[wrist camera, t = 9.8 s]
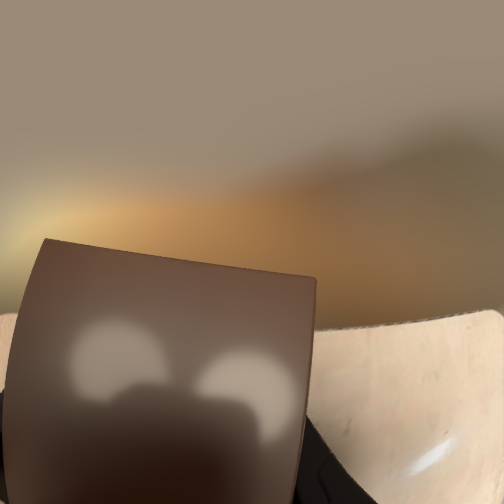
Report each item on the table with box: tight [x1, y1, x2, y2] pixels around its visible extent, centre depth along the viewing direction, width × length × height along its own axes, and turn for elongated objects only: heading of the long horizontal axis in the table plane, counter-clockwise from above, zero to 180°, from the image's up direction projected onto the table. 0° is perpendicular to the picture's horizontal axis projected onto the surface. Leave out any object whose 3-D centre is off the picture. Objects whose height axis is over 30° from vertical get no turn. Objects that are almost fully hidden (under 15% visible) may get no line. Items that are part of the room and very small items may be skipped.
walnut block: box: [2, 238, 317, 504], centre depth 8 cm, size 6×5×12 cm
